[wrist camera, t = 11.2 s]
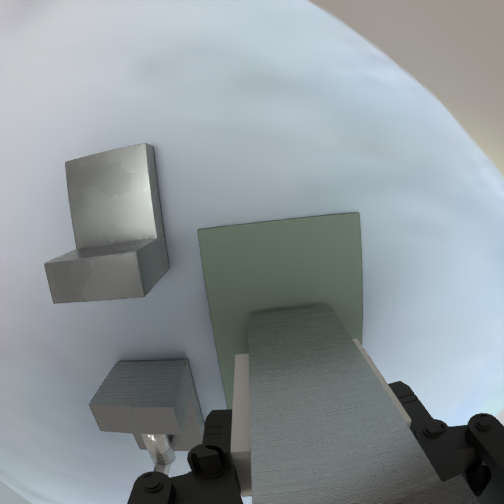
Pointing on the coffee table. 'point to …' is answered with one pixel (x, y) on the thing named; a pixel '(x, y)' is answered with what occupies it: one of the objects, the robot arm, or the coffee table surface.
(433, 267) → the coffee table surface
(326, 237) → the mat
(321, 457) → the bar
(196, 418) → the silver metal blocks
